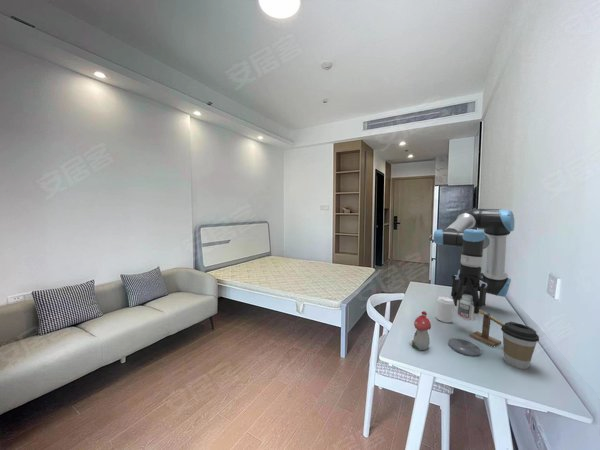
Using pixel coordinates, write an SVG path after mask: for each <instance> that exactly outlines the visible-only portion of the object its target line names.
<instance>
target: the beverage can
mask: <svg viewBox="0 0 600 450" xmlns="http://www.w3.org/2000/svg"><path fill="white" fill-rule="evenodd" d="M454 311H455V303H454V301H453V299H452V297H451V298H450V297H447V296H438V298H437V299H436V309H435V318H436V319H437V320H439V321H440V322H442V323H446V324H447V323H452V322H453V319H454Z"/></svg>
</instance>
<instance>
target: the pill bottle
mask: <svg viewBox="0 0 600 450" xmlns="http://www.w3.org/2000/svg"><path fill="white" fill-rule="evenodd" d="M472 305H474V302H473V297H472V296H470V295H465V294H464V295H462V299H461V300H460V305H459V315H458V316H459V318H461V319H463V320H466V321H471V320H470V319H471V309H472Z"/></svg>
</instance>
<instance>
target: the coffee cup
mask: <svg viewBox="0 0 600 450" xmlns="http://www.w3.org/2000/svg"><path fill="white" fill-rule="evenodd" d="M513 322H514V321H508V322H505V323H504V324H505V325H503V326H501V328H500V330H501V331H502V339H503V340H502V343H503V346H502V347H503V358H504V362H505V363H506V364H508V365H510V366H512V367H514V368H516V369H521V370H526V369H528V368H529V366H530V363H531V361H532V358H533V354H534V351H535V348H536V345H537V342H539V341H540V336H539V334H538V333H537V331H536V329H534V328H532V327H530V326H527V325H524V324H523V323H522V324H521V323H517V322H516V323H513Z"/></svg>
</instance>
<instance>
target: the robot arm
mask: <svg viewBox="0 0 600 450" xmlns="http://www.w3.org/2000/svg"><path fill="white" fill-rule="evenodd" d="M514 216H515V215H514V213H513V211H512V210H510V209H502V208H498V209H497V208H496V209H495V208H474V209H470V210H469V209H468V210H467V211H464V212H462V213H461V214H459V215H458V216H457V217H456V220H454V221H453V222H452V223H451V224H450V225H449V226H448V227H446V228H445V229H436V230H435V231H433V232H434V233H433V236H432V237H433V243H435V244H436V245H441V246H447V247H456V248H461V255H460V265H459V269H458V271H457V274H454V275H452V276H451V278H452V285H451V292H450V293H451V294H450V296H451V299H453V301H454V307H456V308H455V315H456V316H459V305H460V300H461V299H462V295H464V294H465V295H470V296H472V297H473V302H474V305H472V309H471V319H470V320H469V321H472V322H473V321H476V320H477V314H479V309H480V307H485V306H486V302H487V301H486V300H487V299H486V298H487V294H490V295H494V296H496V297H504V298H505V297H507V295H508V291H509V288H510V285H511V281H512V279H511V278H510V277H509V276H508V274H507V273H506V271H505V267H506V253H507V252H506V251H507V249H506V248H507V237H508V236H509V235H510V234H511V232H513V231H514V230H515V217H514ZM485 249H486V261H485V263H486V264H485V265H486V266H485V270H483V271H482V267H481V266H483V254H484V250H485Z"/></svg>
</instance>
